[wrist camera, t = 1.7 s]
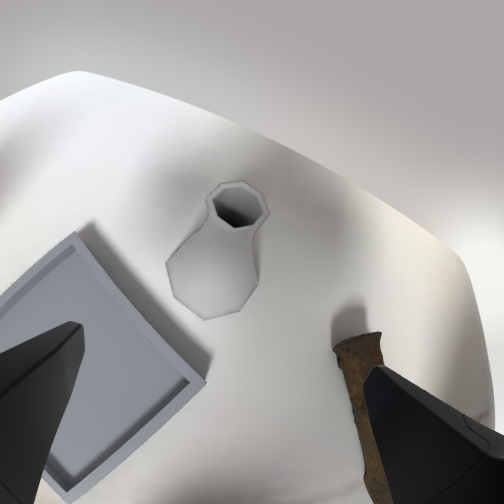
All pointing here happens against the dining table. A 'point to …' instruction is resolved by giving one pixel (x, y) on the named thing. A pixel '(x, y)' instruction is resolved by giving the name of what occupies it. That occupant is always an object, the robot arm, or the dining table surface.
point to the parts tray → (97, 365)
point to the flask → (220, 253)
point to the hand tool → (364, 405)
